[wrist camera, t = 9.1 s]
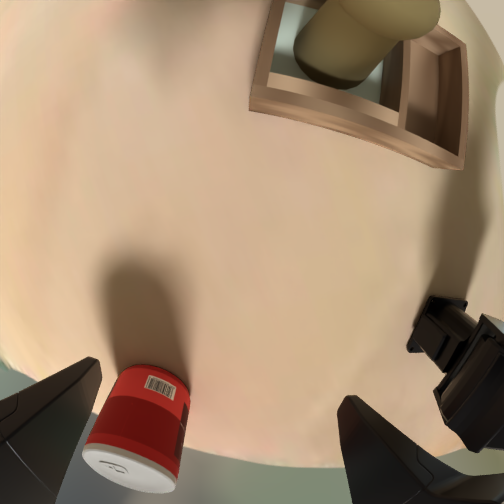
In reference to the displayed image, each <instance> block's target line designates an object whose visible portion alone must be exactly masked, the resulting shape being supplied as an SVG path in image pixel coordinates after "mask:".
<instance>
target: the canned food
mask: <svg viewBox="0 0 504 504" xmlns="http://www.w3.org/2000/svg"><path fill="white" fill-rule="evenodd" d="M189 409H190V397H189V392H188V390H187V388H186V386H185V385H184V383H183V382H182V381H181V380H180V379H179V378H177V377H176V376H175V375H173V374H172V373H170V372H168V371H166V370H164V369H161V368H158V367H155V366H151V365H134V366H131V367H129V368H127V369H126V370H124V371H123V372H122V373H121V374H120V375H119V376H118V378H117V380H116V382H115V384H114V386H113V388H112V390H111V392H110V394H109V396H108V398H107V399H106V401H105V403H104V405H103V407H102V409H101V412H100V414H99V416H98V418H97V420H96V422H95V424H94V426H93V428H92V430H91V432H90V434H89V437H88V439H87V442H86V444H85V446H84V449H83V453H82V456H83V458H84V460H85V461H86V462H87V464H88V465H89V466H90V467H92V468H93V469H94V470H95V471H96V472H98V473H99V474H101V475H102V476H104V477H105V478H108V479H109V480H111V481H113V482H115V483H117V484H120V485H122V486H125V487H128V488H131V489H134V490H139V491H143V492H149V493H167V492H171V491H173V490H174V488H175V485H176V483H177V478H178V473H179V467H180V461H181V454H182V449H183V443H184V437H185V431H186V425H187V420H188V414H189Z"/></svg>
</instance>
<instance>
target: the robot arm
mask: <svg viewBox="0 0 504 504" xmlns="http://www.w3.org/2000/svg"><path fill="white" fill-rule="evenodd" d="M432 300H433V301H432ZM467 305H468V302H467V301H466V300H465V299H457V298H450V297H442V296H435V295H432V296H430V297H429V299H428V301H427V303H426V306H425V308H424V311H423V313H422V315H421V318H420V320H419V322H418V325H417V327H416V329H415V331H414V333H413V335H412V338H411V340H410V342H409V344H408V346H407V351H408V352H409V353H422V352H425V353H426V355H427V356H428V357H429V358H430V359H431V360H432V361H433V362H434V363H435V364H436V365H437V367H438V368H439V369H440V370H441V371H442V373H445V377H444V378H443V379H442V381H441V382H440V384H439V385H438V386H437V387H436V388H435V389H434V390H433V393H434V396H435V398H436V401H437V404H438V407H439V410H440V413H441V416H442V418H443V421H444V424H445V425H446V426H448V427H449V428H450V429H451V430H452V431H454V432H455V433H456V434H457V435H458V436H459V437H460V438H461V440H462V441H463V443H464V444H465V446H466V448H467V449H468V450H469V451H472V452H475V453H479V452H480V451H481V450H482V449H483V448H488V449H496V450H504V322H503V321H501V320H499V319H496V318H494V317H491V316H489V315H486V314H483V313H482V314H481V316H480V318H479V319H480V320H479V322H476V321H475V320H474V319H473V318H472V317H470V316H469V315H468V314H467V313H465V310H466V307H467ZM101 381H102V372H101V367H100V362H99V360H98V359H95V358H92V357H86V358H84V359H82V360H81V361H79V362H77V363H75V364H73V365H71V366H69V367H67V368H65V369H63V370H61V371H59V372H57V373H55V374H53V375H51V376H49V377H47V378H45V379H43V380H41V381H39V382H37V383H36V384H34V385H31V386H29V387H27V388H26V389H23V390H22V391H19V393H15V394H14V395H11V396H9V397H7V398H5V399H3V400H1V401H0V504H55V502H56V499H57V495H58V493H59V490H60V487H61V484H62V481H63V479H64V476H65V474H66V471H67V468H68V466H69V463H70V461H71V458H72V456H73V453H74V451H75V449H76V446H77V444H78V442H79V439H80V437H81V435H82V432H83V430H84V427H85V426H86V423H87V421H88V419H89V417H90V414H91V412H92V409H93V405H94V402H95V399H96V396H97V393H98V390H99V387H100V384H101ZM337 418H338V427H339V437H340V446H341V451H342V456H343V460H344V465H345V469H346V474H347V479H348V484H349V488H350V493H351V498H352V503H353V504H504V473H501V474H492V475H480V476H469V475H465V474H462V473H460V472H458V471H457V470H455V469H453V468H451V467H450V466H448V465H446V464H445V463H443V462H441V461H440V460H438V459H436V458H435V457H434V456H432V455H431V454H429V453H428V452H426V451H425V450H424V449H422V448H421V447H420V446H419V445H417V444H416V443H415V442H413V441H412V440H411V439H410V438H408V437H407V436H406V435H404V434H403V433H402V432H401V431H399V430H398V429H397V428H396V427H394V426H393V425H392V424H391V423H390V422H388V421H387V420H386V419H385V418H383V417H382V416H381V415H380V414H379V413H377V412H376V411H375V410H374V409H372V408H371V407H370V406H369V405H368V404H366V403H365V402H364V401H363V400H362V399H360V398H359V397H358V396H356V395H347V396H346V397H345V398H344V399H343V401H342V403H341V405H340V406H339V408H338V411H337Z"/></svg>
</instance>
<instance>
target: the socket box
mask: <svg viewBox="0 0 504 504" xmlns="http://www.w3.org/2000/svg"><path fill="white" fill-rule="evenodd" d="M326 1H327V0H273V1H272V5H271V9H270V13H269V17H268V21H267V25H266V29H265V33H264V37H263V41H262V46H261V50H260V54H259V58H258V63H257V67H256V71H255V76H254V80H253V85H252V90H251V94H250V102H249V111H254V112H259V113H264V114H269V115H274V116H279V117H283V118H288V119H292V120H296V121H300V122H304V123H308V124H312V125H316V126H320V127H323V128H327V129H330V130H334V131H337V132H340V133H344V134H347V135H350V136H353V137H356V138H359V139H362V140H365V141H368V142H371V143H374V144H377V145H379V146H382V147H385V148H387V149H390V150H393V151H395V152H398V153H400V154H403V155H405V156H407V157H410V158H412V159H415V160H417V161H419V162H421V163H424V164H426V165H428V166H430V167H433V168H442V169H453V170H463V169H464V162H465V153H466V144H467V132H468V114H469V79H468V61H467V50H466V44H465V43H463V42H462V41H461V40H459V39H458V38H457V37H455V36H454V35H452V34H451V33H449V32H448V31H446V30H445V29H443V28H442V27H440V26H439V25H436V26H435V28H434V29H433V30H432V31H430V32H429V33H427V34H426V35H424V36H422V37H420V38H417V39H411V40H402V41H399V42H398V43H397V44H396V45H395V46H394V47H393V49H392V50H391V51H390V52H389V53H388V54H387V55H386V56H385V58H384V59H383V60H382V61H381V62H380V63H379V64H378V66H377V67H376V68H375V69H374V70H373V71H372V72H371V74H370V75H369V76H368V77H367V78H366V79H365V81H363V82H362V83H361V84H359V85H358V86H357V87H354V88H350V89H347V90H340V89H335V88H331V87H328V86H325V85H321V84H318V83H317V82H315V81H313V80H311V79H310V78H309V77H308V76H307V75H306V74H305V73H304V72H303V71H302V70H301V69H300V67H299V65H298V64H297V62H296V60H295V57H294V52H293V45H294V40H295V38H296V36H297V35H298V34H299V32H300V31H301V30H302V28H303V27H304V26H305V25H306V24H307V23H308V21H309V20H310V19H311V18H312V17H313V16H314V15H315V13H316V12H317V11H318V10H319V9H320V8H321V7H322V6H323V5H324V4H325V2H326Z"/></svg>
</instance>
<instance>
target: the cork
mask: <svg viewBox="0 0 504 504" xmlns="http://www.w3.org/2000/svg"><path fill="white" fill-rule="evenodd" d="M440 12H441V8H440V2H439V0H327V1H326V2H325V4H324V5H323V6H322V7H321V8H320V9H319V10H318V11H317V12H316V13H315V15H314V16H313V17H312V18H311V19H310V20H309V21H308V23H307V24H306V25H305V26H304V27H303V28H302V30H301V31H300V32H299V34H298V35H297V36H296V38H295V40H294V45H293V52H294V57H295V60H296V62H297V64H298V65H299V67H300V69H301V70H302V71H303V72H304V73H305V74H306V75H307V76H308V77H309V78H310V79H311V80H313V81H315V82H317V83H318V84H321V85H325V86H328V87H331V88H335V89H340V90H347V89H350V88H354V87H357V86H358V85H359V84H361V83H362V82H363V81H365V79H366V78H367V77H368V76H369V75H370V74H371V72H372V71H373V70H374V69H375V68H376V67H377V66H378V64H379V63H380V62H381V61H382V60H383V59H384V58H385V56H386V55H387V54H388V53H389V52H390V51H391V50H392V49H393V47H394V46H395V45H396V44H397V43H398V42H399V41H402V40H411V39H417V38H420V37H422V36H424V35H426V34H427V33H429V32H430V31H432V30H433V29H434V28H435V26H436V25H437V23H438V21H439V18H440Z"/></svg>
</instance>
